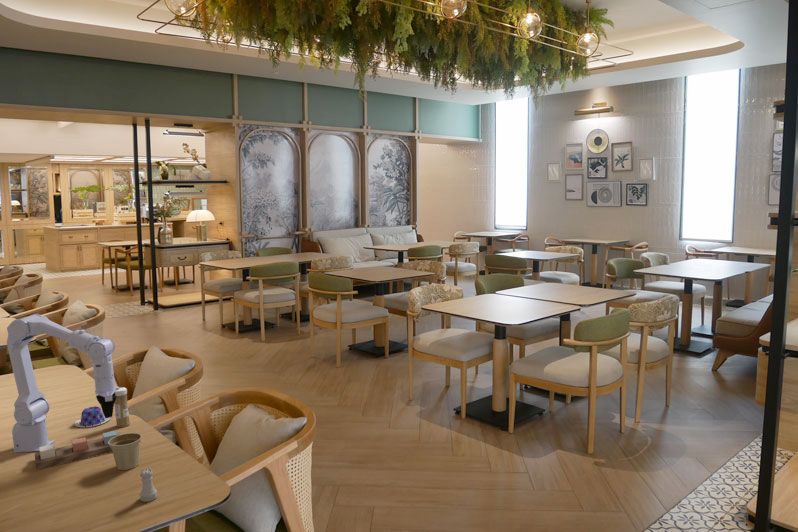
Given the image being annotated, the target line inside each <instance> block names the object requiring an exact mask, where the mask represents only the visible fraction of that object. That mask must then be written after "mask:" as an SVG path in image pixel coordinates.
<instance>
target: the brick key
mask: <svg viewBox="0 0 798 532" xmlns="http://www.w3.org/2000/svg"><path fill="white" fill-rule="evenodd" d="M87 442H88V441H87V438H86V436H85V437H80V438H75V439H72V440H71V445H72V447H73V452H77V451H81V450H86V449H88V447H87Z"/></svg>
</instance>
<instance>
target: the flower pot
mask: <svg viewBox="0 0 798 532" xmlns="http://www.w3.org/2000/svg"><path fill="white" fill-rule="evenodd" d="M142 437H143V435H142V434H141V433H138V432H127V433H122V434H120V435H119V434H118V436H115V437H113V438H111V439H110V440H109V441H108V444H109V445H110V448H111V449H112V452H111V453H112V454H113V459H114V462H115V466H116V469H118V470H119V471H127V470H128V469H129V470H131V469H132V468H136V467H137V465H138V466H139V465H140V446H141V445H140V443H141V440H142Z"/></svg>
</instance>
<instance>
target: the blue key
mask: <svg viewBox="0 0 798 532" xmlns="http://www.w3.org/2000/svg"><path fill="white" fill-rule="evenodd" d="M118 435H119V434H118V432H117V431H116V430H112V431H108V432H103V433H102V438H103V442H104V445H108V441H109V440H110V439H111V438H113V437H115V436H118Z"/></svg>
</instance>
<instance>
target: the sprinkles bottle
mask: <svg viewBox="0 0 798 532" xmlns="http://www.w3.org/2000/svg"><path fill="white" fill-rule="evenodd" d="M127 394H128V389H127V388H126V387H119V390H116V391H115V395H116V396H117V398H116V400H115V403H114V413H115V419H116V425H115V426H116V427H117V428H125V427H128V426H130V424H131V422H130V413H129V403H128V395H127Z"/></svg>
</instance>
